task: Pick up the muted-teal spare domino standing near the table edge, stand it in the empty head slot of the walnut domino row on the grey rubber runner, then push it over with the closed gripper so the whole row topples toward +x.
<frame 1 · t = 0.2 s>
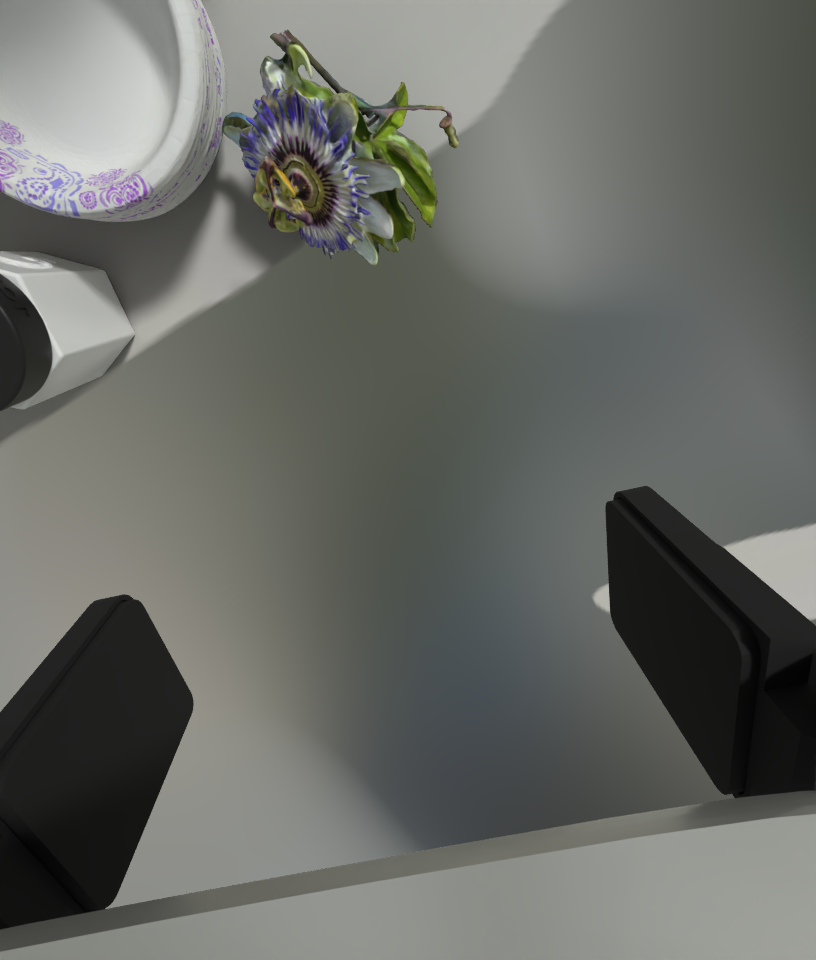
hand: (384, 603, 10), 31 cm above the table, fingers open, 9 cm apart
paper bowls: (118, 90, 31), on the table
passion flower: (346, 168, 33), on the table
jar: (73, 316, 36), on the table
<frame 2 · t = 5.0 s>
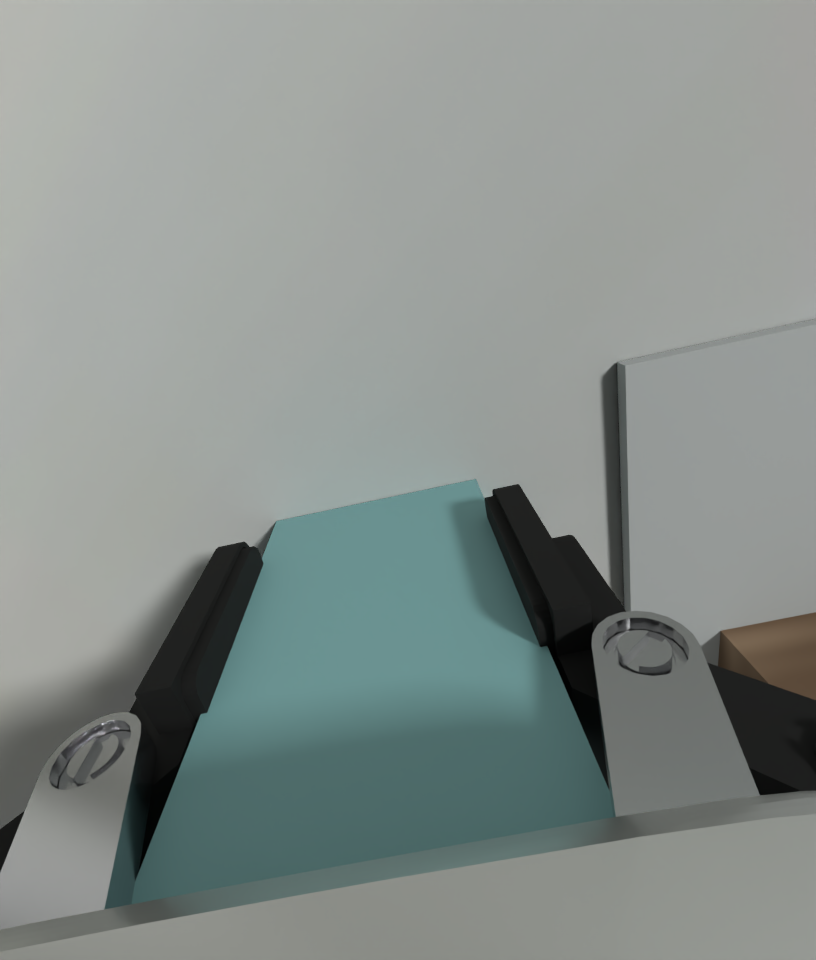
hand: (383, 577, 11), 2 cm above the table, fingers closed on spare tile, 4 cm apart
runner: (776, 751, 17), on the table
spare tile: (383, 531, 12), on the table, touching gripper
tile 2: (806, 637, 14), resting on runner
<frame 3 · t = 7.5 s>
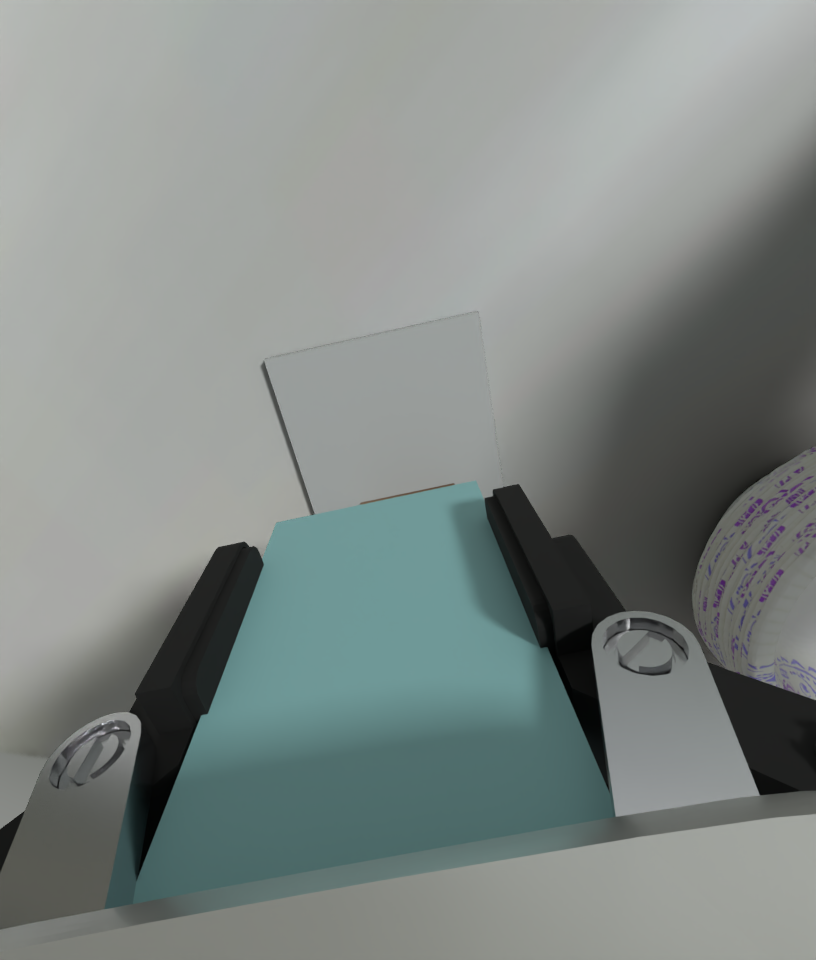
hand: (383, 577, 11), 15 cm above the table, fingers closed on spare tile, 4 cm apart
paper bowls: (787, 532, 29), on the table
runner: (429, 586, 29), on the table
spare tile: (383, 532, 12), point 13 cm above the table, touching gripper
when the fingers open (3 cm above the table, at t = 9.9 s): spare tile stays where it is, resting on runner.
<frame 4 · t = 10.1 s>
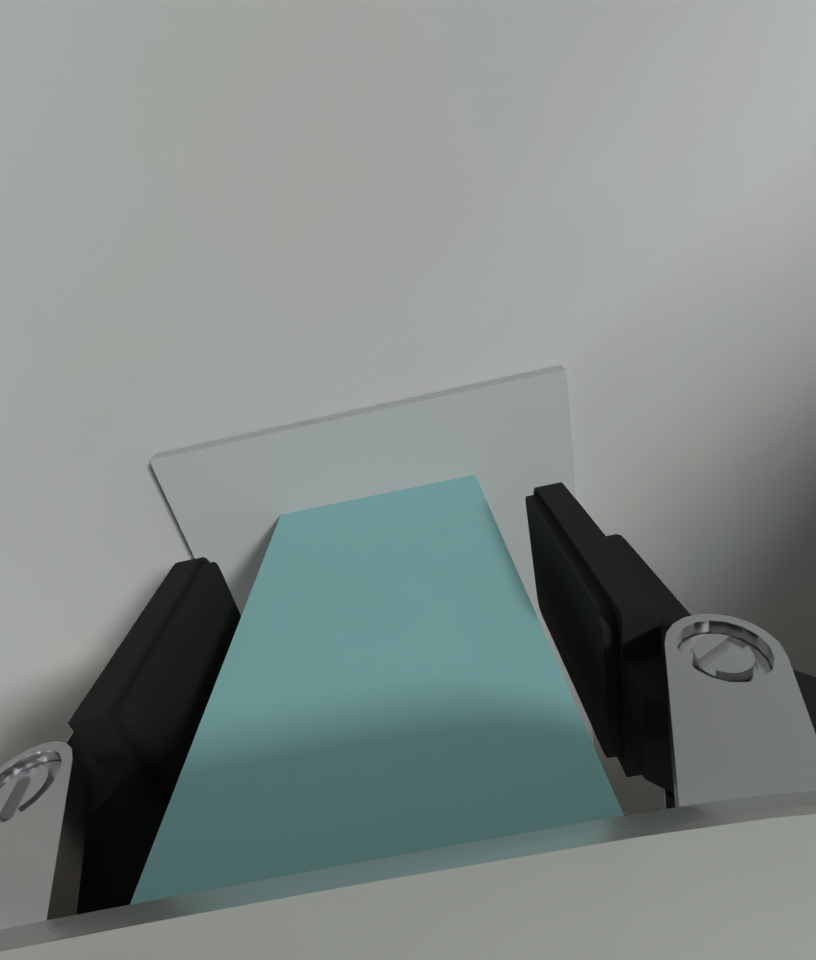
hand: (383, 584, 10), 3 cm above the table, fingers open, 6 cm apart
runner: (454, 789, 18), on the table
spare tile: (385, 525, 13), resting on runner
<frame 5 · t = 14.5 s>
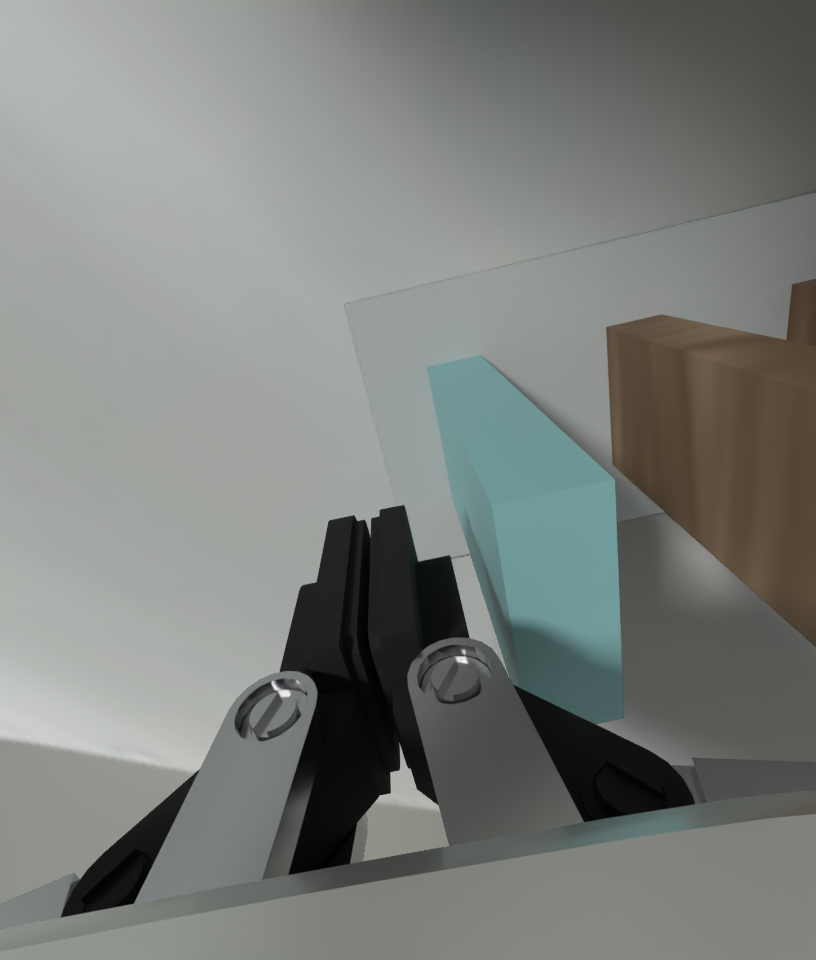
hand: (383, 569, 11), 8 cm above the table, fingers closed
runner: (787, 356, 17), on the table
tile 3: (810, 355, 17), resting on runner
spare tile: (465, 431, 17), resting on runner, touching gripper
tile 2: (635, 394, 17), resting on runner
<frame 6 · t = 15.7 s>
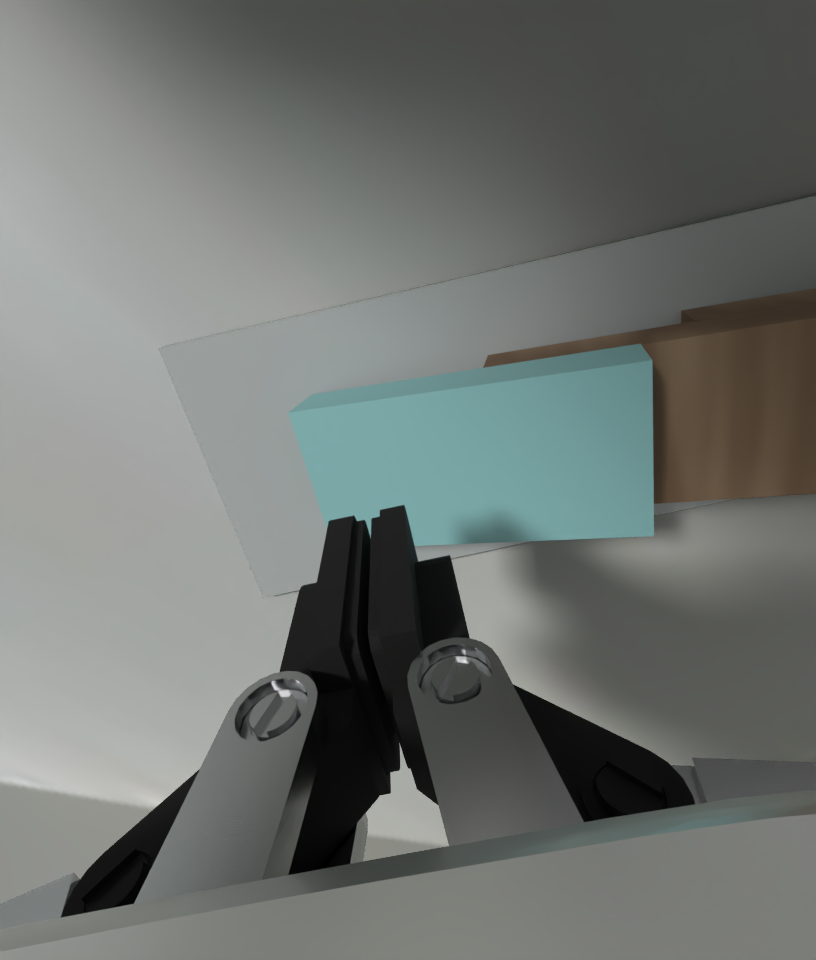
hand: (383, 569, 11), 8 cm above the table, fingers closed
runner: (614, 396, 17), on the table
tile 3: (685, 393, 16), point 1 cm above the table, tilted 72°, touching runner, tile 2, tile 4
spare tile: (323, 472, 17), point 1 cm above the table, tilted 72°, touching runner, tile 2
tile 2: (496, 435, 16), point 1 cm above the table, tilted 73°, touching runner, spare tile, tile 3
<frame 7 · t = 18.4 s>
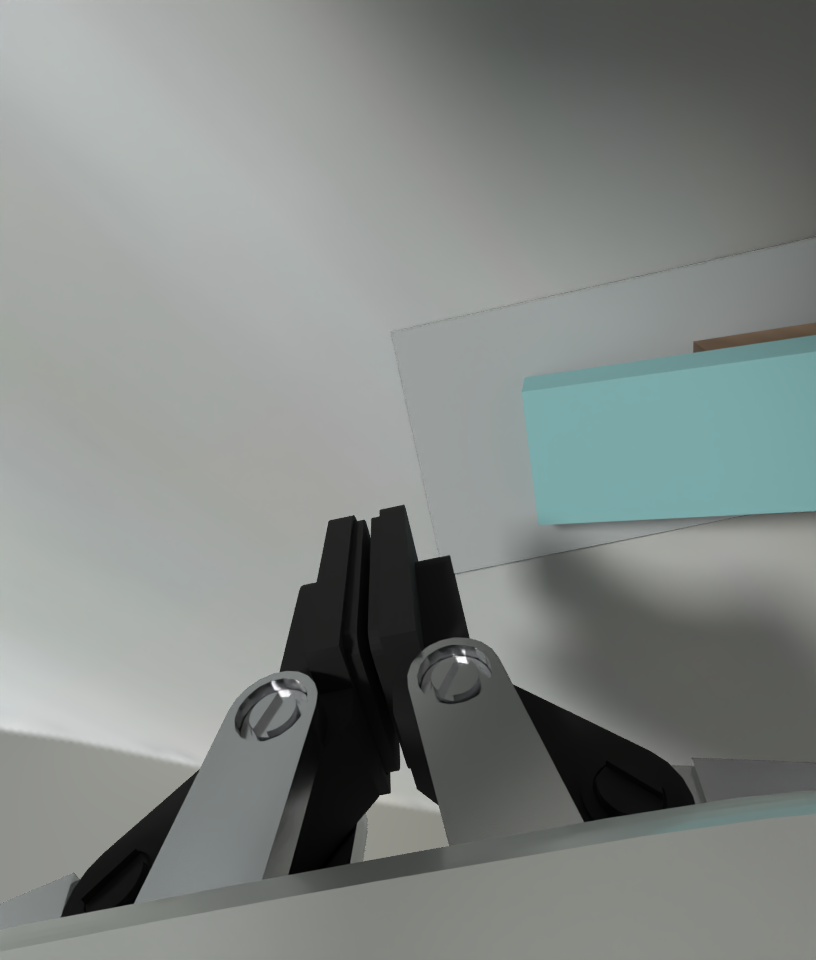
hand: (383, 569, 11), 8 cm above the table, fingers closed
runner: (800, 382, 18), on the table
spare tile: (531, 452, 18), point 1 cm above the table, tilted 72°, touching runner, tile 2
tile 2: (698, 417, 17), point 1 cm above the table, tilted 73°, touching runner, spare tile, tile 3
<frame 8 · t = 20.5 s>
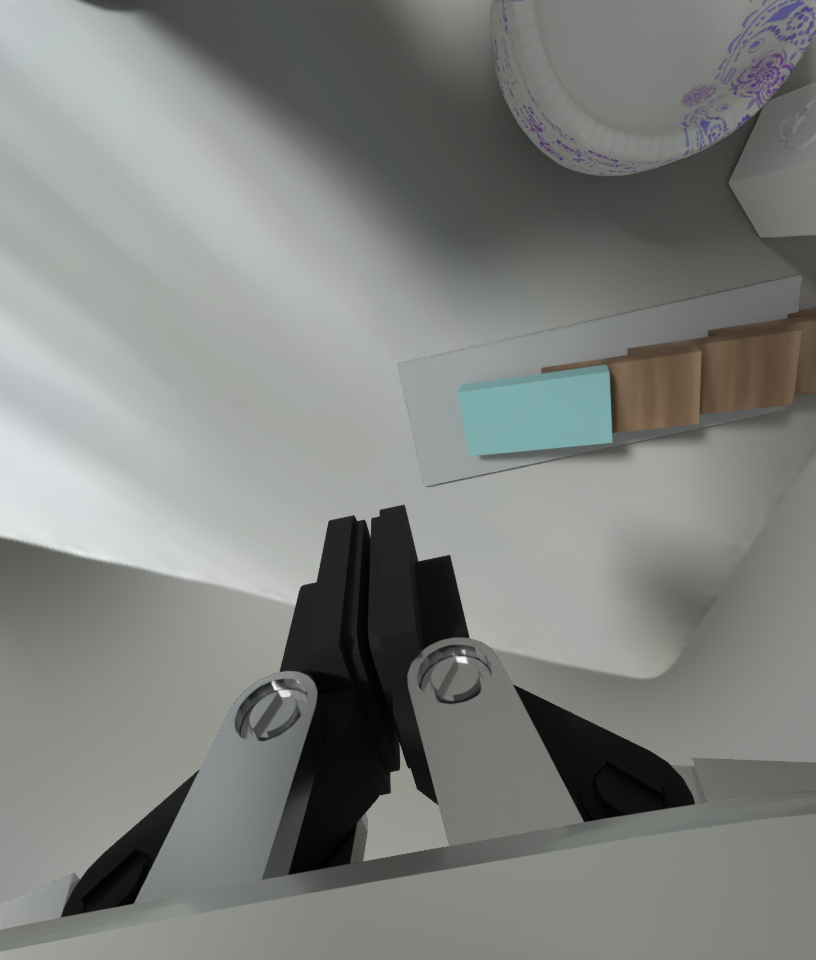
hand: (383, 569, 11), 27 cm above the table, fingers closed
tile 4: (710, 367, 36), point 1 cm above the table, tilted 72°, touching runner, tile 3, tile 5
paper bowls: (605, 35, 29), on the table
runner: (598, 387, 37), on the table
jar: (793, 164, 32), on the table
tile 3: (629, 385, 36), point 1 cm above the table, tilted 72°, touching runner, tile 2, tile 4
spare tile: (465, 420, 37), point 1 cm above the table, tilted 72°, touching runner, tile 2
tile 2: (544, 404, 36), point 1 cm above the table, tilted 73°, touching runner, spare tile, tile 3
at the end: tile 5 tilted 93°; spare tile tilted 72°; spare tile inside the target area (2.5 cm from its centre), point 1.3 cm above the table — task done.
